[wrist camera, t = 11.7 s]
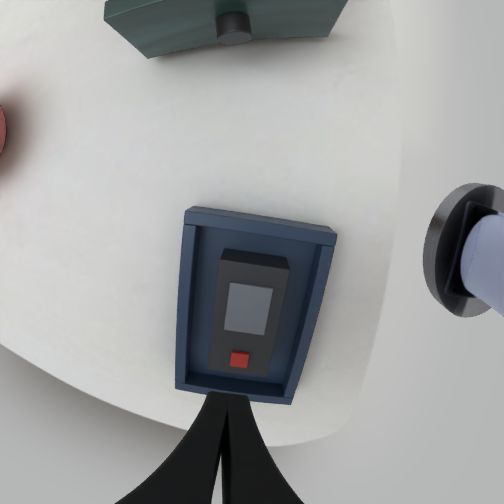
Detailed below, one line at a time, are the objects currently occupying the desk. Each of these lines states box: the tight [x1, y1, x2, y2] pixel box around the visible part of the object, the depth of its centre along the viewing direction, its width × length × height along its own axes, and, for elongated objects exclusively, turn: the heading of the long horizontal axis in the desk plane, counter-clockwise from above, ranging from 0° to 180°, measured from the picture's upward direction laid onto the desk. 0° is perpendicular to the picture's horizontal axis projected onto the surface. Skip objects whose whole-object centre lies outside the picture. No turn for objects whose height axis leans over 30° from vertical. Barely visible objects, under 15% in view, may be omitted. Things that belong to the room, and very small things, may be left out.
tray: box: [175, 206, 337, 405], centre depth 18 cm, size 12×8×2 cm, turn 171°
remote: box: [207, 248, 290, 377], centre depth 17 cm, size 4×7×2 cm, turn 171°
